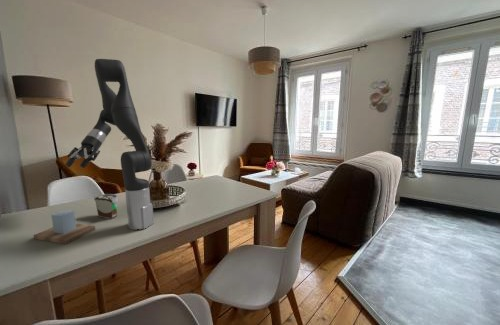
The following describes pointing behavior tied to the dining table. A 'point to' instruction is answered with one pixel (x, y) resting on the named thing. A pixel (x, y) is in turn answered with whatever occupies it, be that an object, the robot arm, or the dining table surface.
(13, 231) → the dining table surface
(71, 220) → the slate block
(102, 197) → the food container
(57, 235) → the walnut board
